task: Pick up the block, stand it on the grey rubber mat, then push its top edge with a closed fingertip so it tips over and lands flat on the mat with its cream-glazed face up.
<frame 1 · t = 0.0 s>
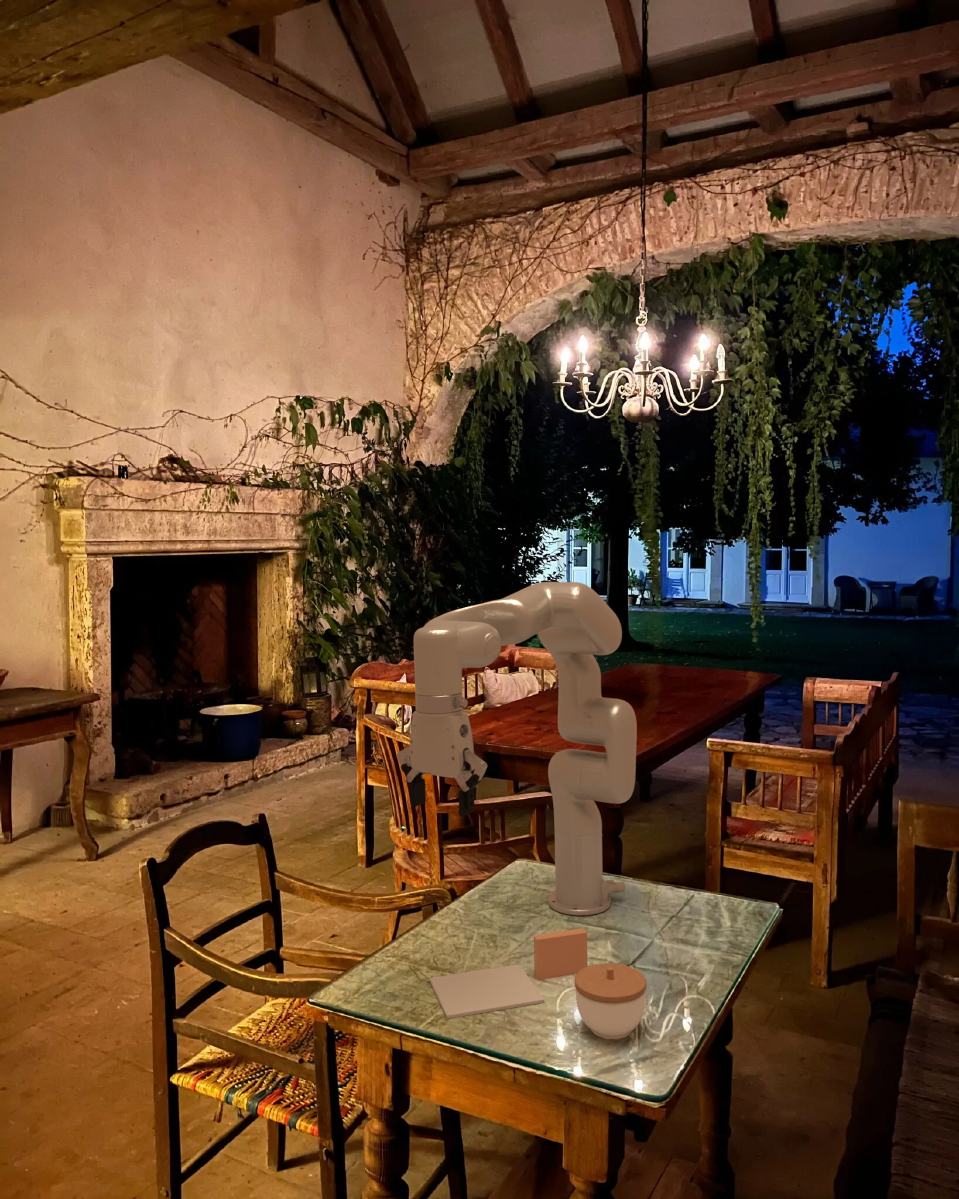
hand: (442, 809, 148), 31 cm above the table, tool pointing down, fingers open, 9 cm apart
block: (561, 974, 157), on the table
mat: (485, 991, 151), on the table
lidded jar: (611, 1030, 139), on the table
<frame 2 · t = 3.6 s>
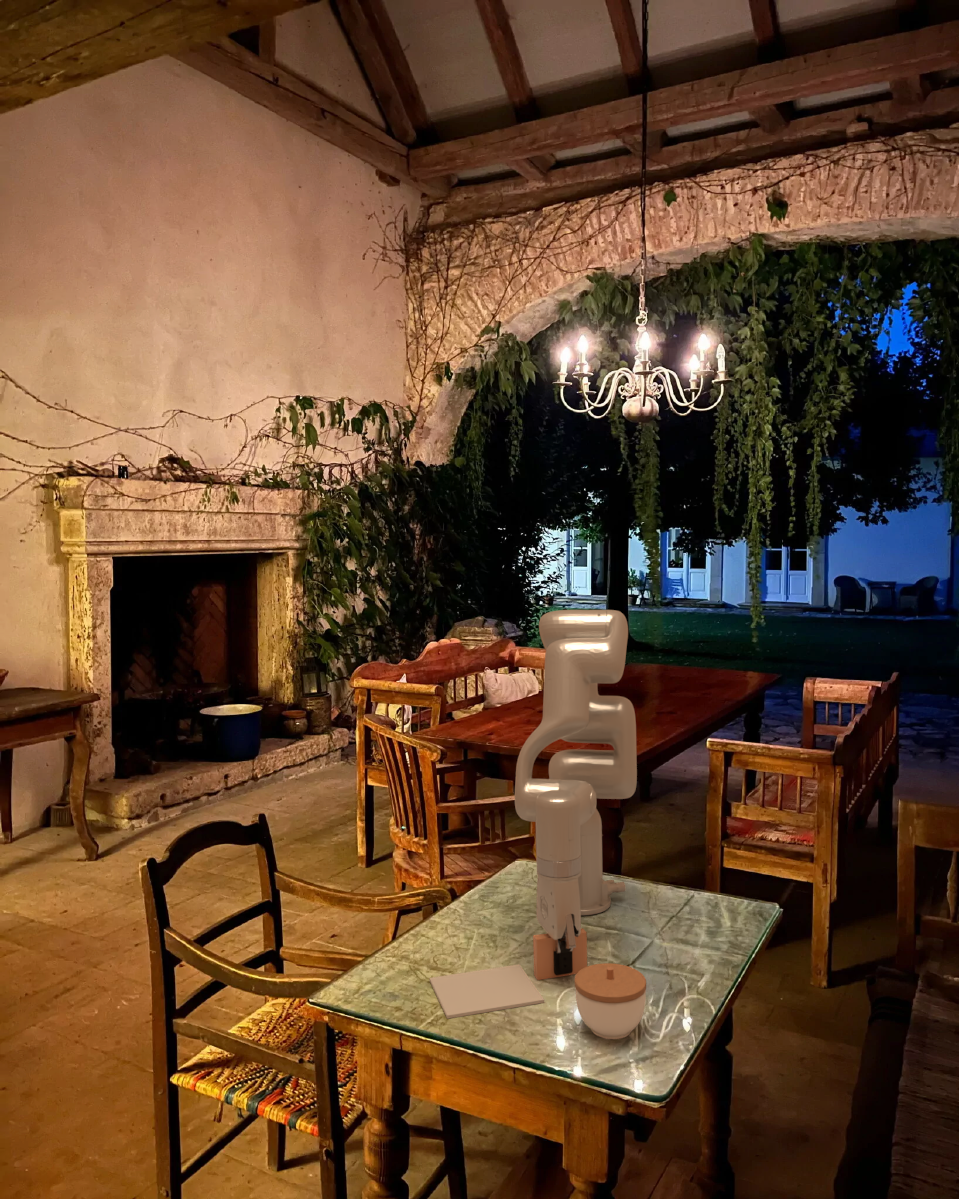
hand: (560, 969, 157), 1 cm above the table, tool pointing down, fingers closed on block, 1 cm apart
block: (560, 973, 157), on the table, touching gripper
everything else where it was.
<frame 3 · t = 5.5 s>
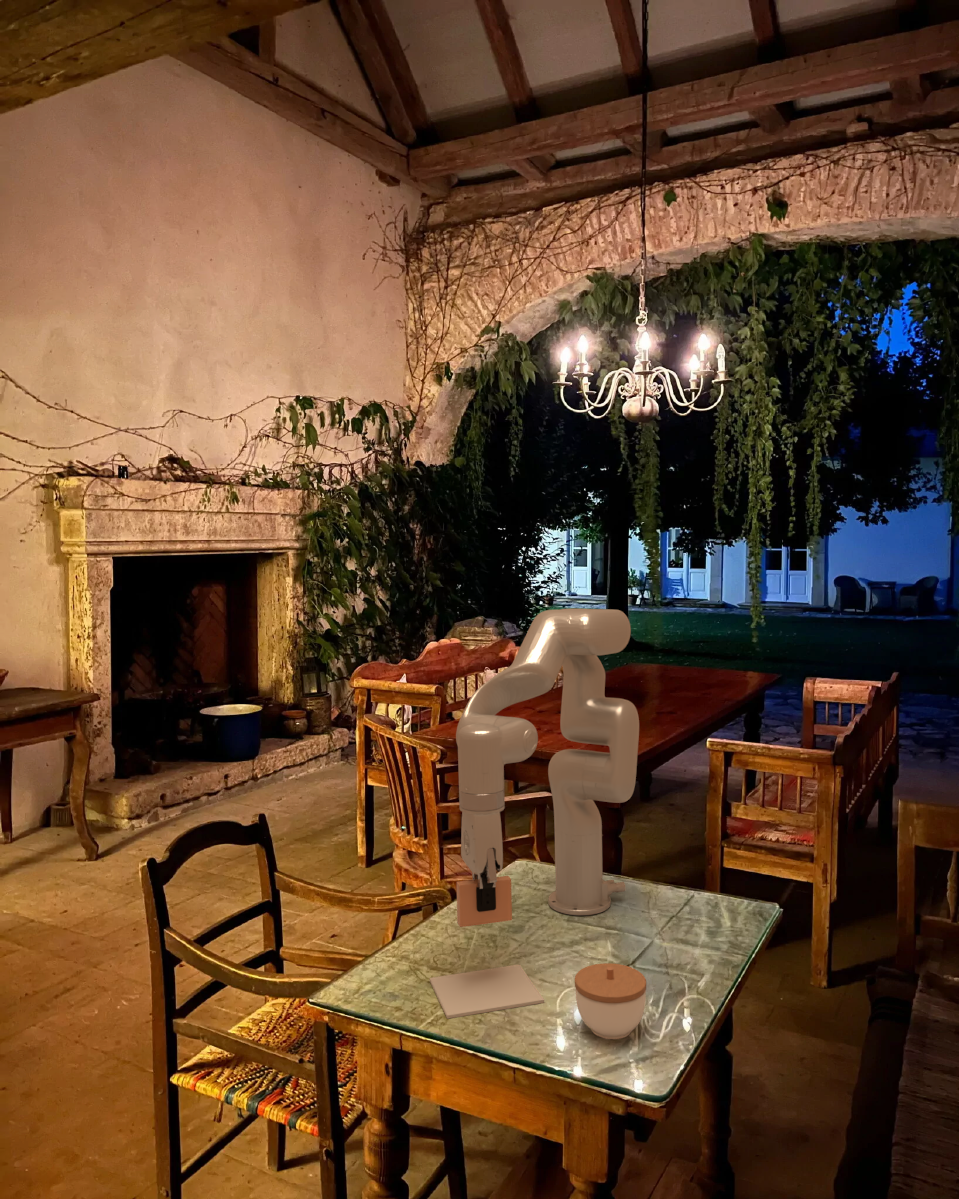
hand: (484, 907, 154), 13 cm above the table, tool pointing down, fingers closed on block, 1 cm apart
block: (484, 921, 154), point 10 cm above the table, touching gripper
everything else where it was.
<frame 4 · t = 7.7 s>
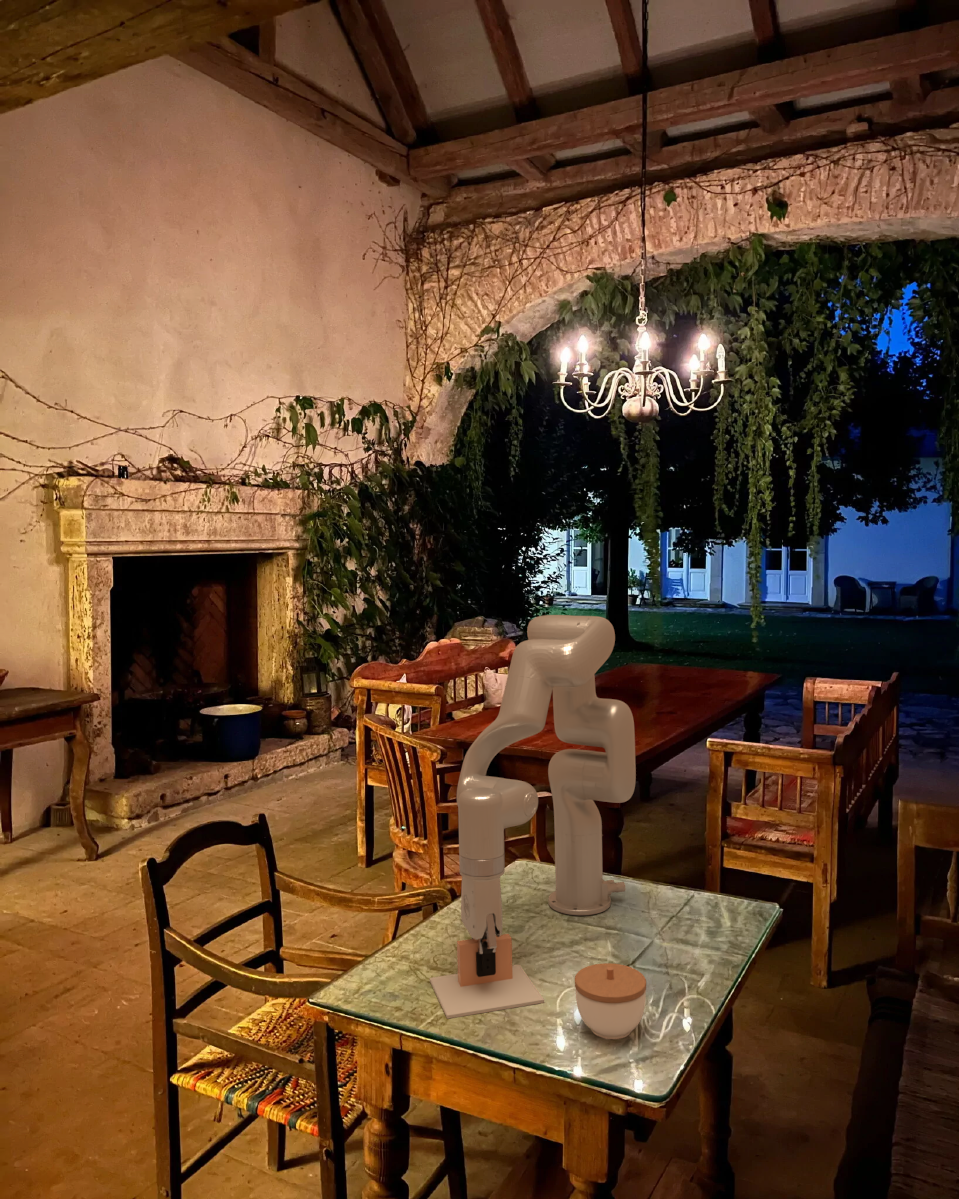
hand: (483, 970, 154), 2 cm above the table, tool pointing down, fingers closed on block, 2 cm apart
block: (485, 980, 154), resting on mat, touching gripper
everything else where it was.
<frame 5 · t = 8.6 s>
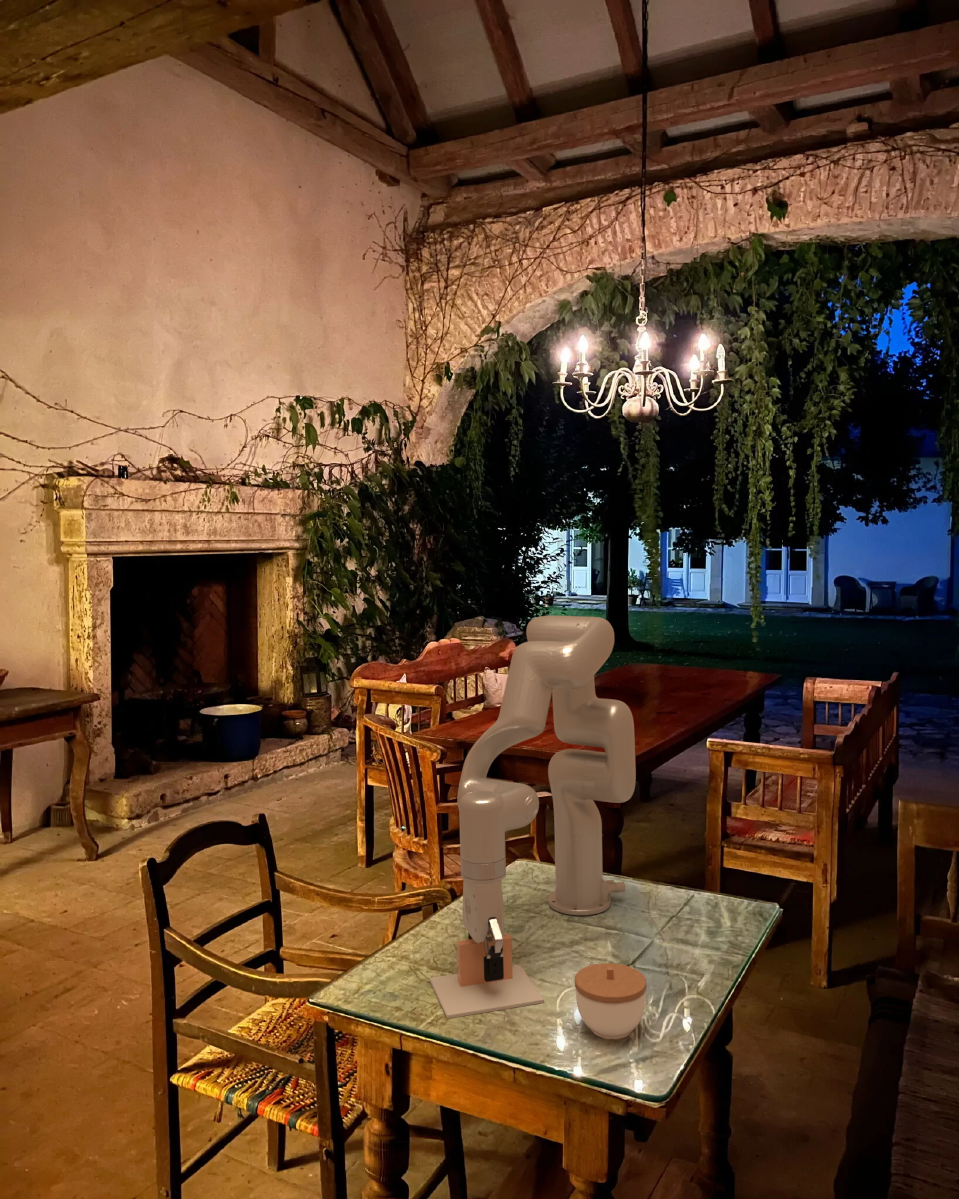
hand: (485, 966, 154), 3 cm above the table, tool pointing down, fingers open, 9 cm apart
block: (485, 980, 154), resting on mat
everything else where it was.
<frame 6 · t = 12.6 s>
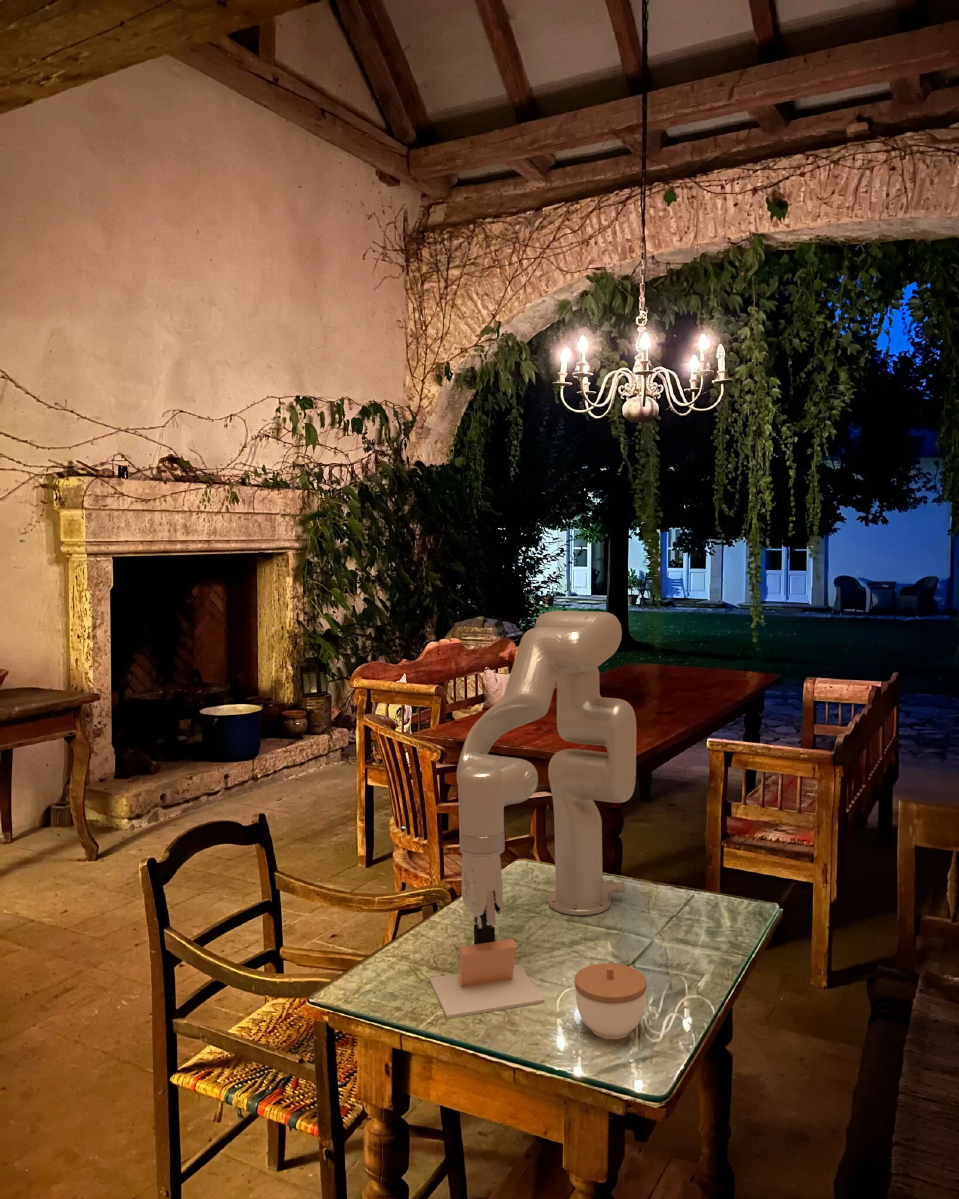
hand: (484, 948, 154), 6 cm above the table, tool pointing down, fingers closed
block: (485, 978, 154), point 1 cm above the table, tilted 21°, touching mat
everything else where it was.
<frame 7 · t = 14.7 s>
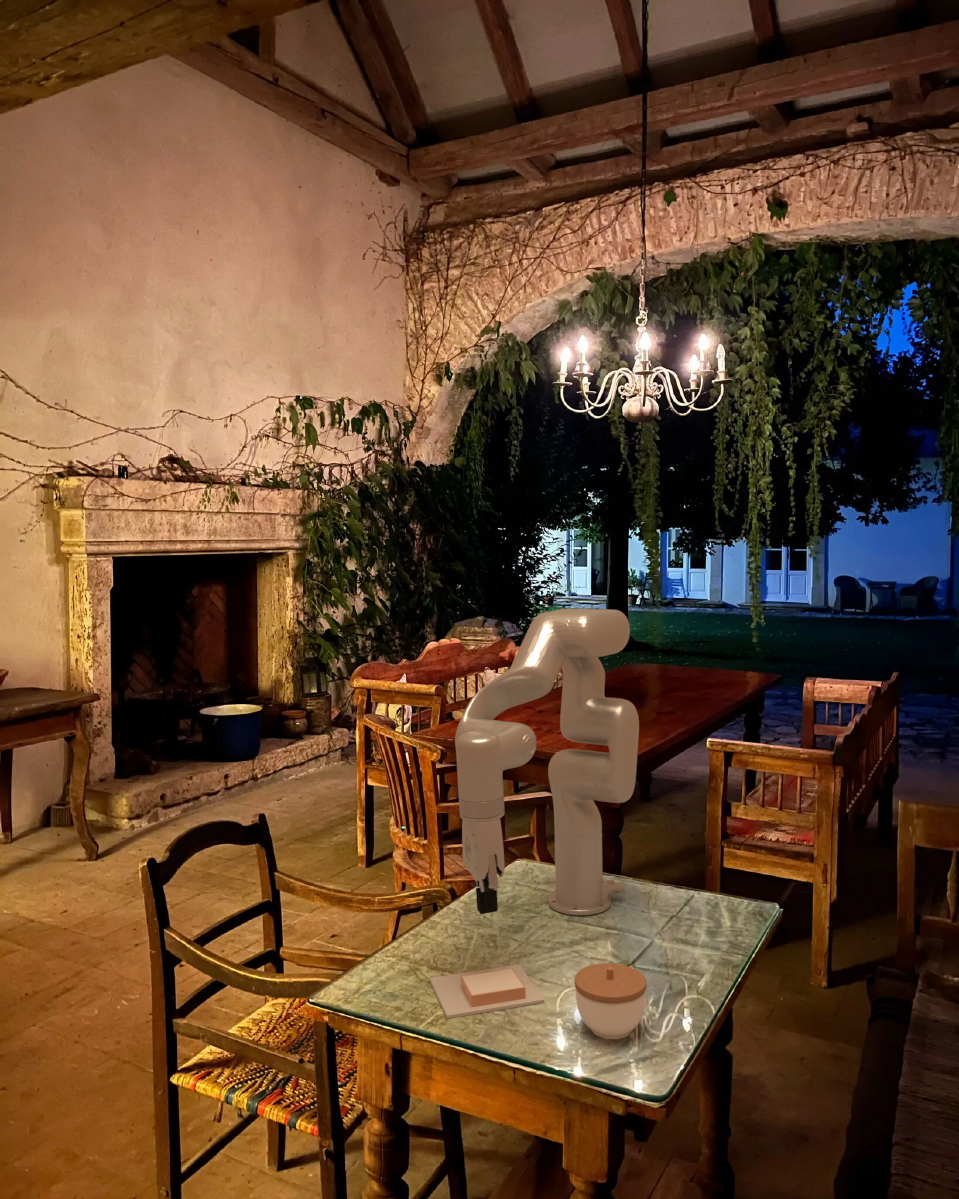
hand: (487, 910, 155), 12 cm above the table, tool pointing down, fingers closed
block: (486, 977, 153), point 1 cm above the table, tilted 90°, touching mat
everything else where it was.
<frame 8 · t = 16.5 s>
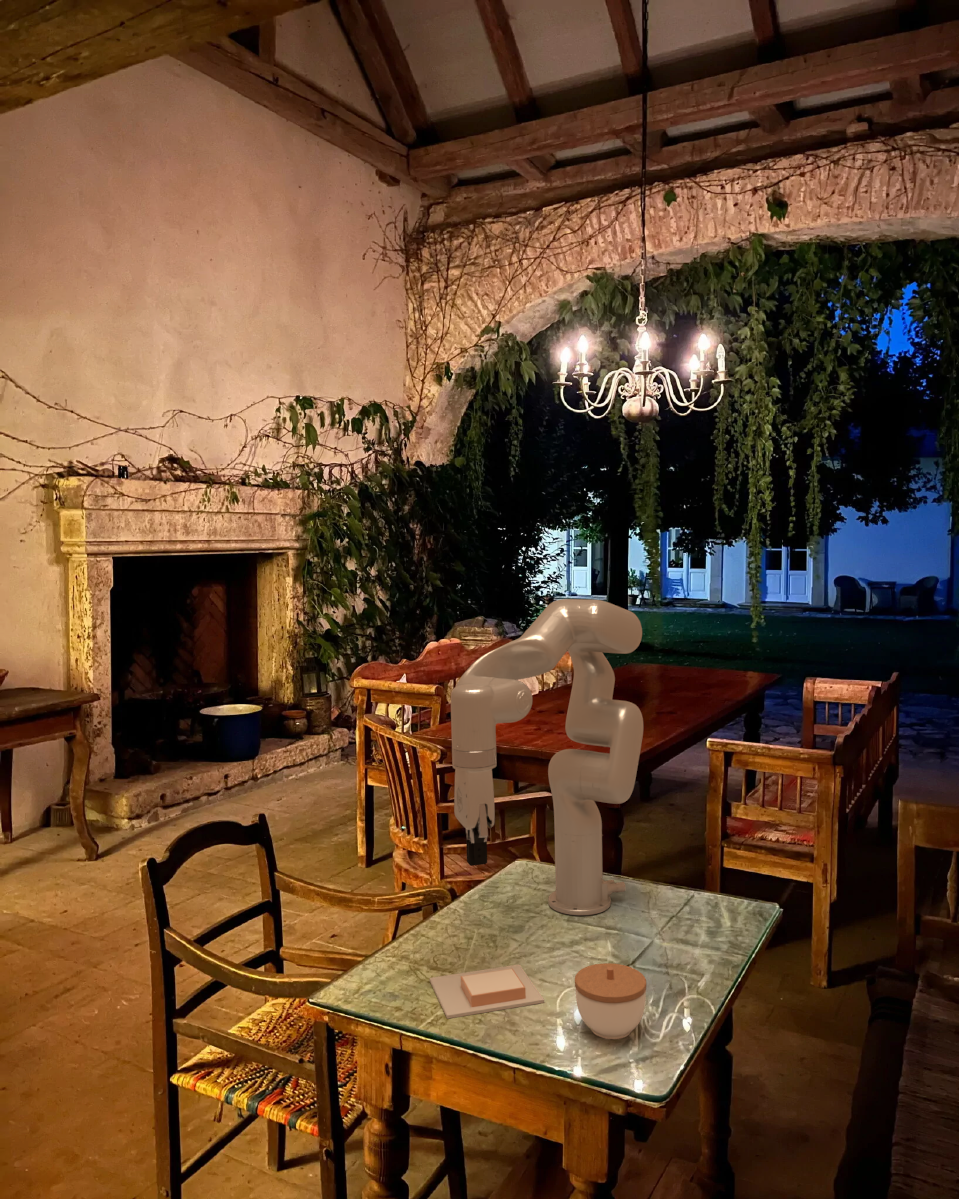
hand: (477, 863, 157), 19 cm above the table, tool pointing down, fingers closed
nothing on the table moved.
at the end: block tilted 90°; block inside the target area on the mat (2.0 cm from its centre), point 1.4 cm above the mat's base; the gripper is holding nothing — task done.
